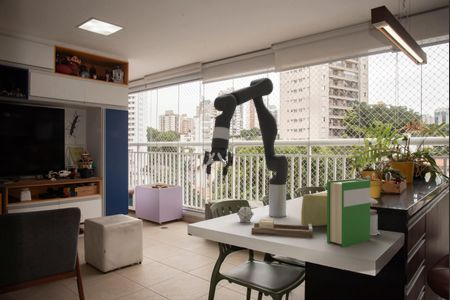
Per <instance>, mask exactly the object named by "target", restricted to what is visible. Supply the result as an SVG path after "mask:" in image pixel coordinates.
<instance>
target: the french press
mask: <svg viewBox="0 0 450 300" xmlns="http://www.w3.org/2000/svg"><path fill="white" fill-rule="evenodd" d="M365 179H371V176H370V175H365ZM378 203H379V201H378V200H376V199H375V198H373V197H370V205H373V204H378ZM377 212H378V211H377V210H376V209H372V208H370V236H378V235H377V234H379V235H381V233H380V232H379V230H378V225H379V223H378V222H379V221H378V219H379V218H378V213H377Z"/></svg>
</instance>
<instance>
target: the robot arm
mask: <svg viewBox="0 0 450 300" xmlns="http://www.w3.org/2000/svg"><path fill="white" fill-rule="evenodd" d="M273 90H274V84H273V81H272V79H270V78H269V77H261V78H256V79H253V80H251V81H250V82H249V86H245V87H243V88H239V89H236V90H233V91H232V92H229V93H225V94H224V93H223V94H221V95H218V96H217V97H215V98H214V100H213V107H214V109H215V110H216V111H217V112H221V113H220V114H218V115H216V117H215V119H214V127H213V131H212V137H211V145H210V146H211V150H210V151H208V150H205V151H204V155H203V162H202V164H203V165H205V166H206V167H205V173H206V175H209V176H210V175H211V172H212V165H214V163H215V162H220V163H221V164H222V166H223V167H222V176H224V177H226V176H227V175H228V173H229V167H233V163H234V152H232V151H228V149H229V143H230V142H229V141H230V135H231V133H230V131H231V121H232V119H233V117H234V114H235V112H236V110H237V109H236V108H237V107H239V106H241V105H243V104H245V103H247V102H249V101H253V105H254V108H255V111H256V116H257V120H258V127H259V131H260V134H261V139H262V144H263V151H264V159H265V161H264V162H265V165H266V169H267V170H268V171H270V172H275V176H273V177H271V178H269V181H268V216H270V217H274V218H275V217H276V218H284V217H286V216H287V180H288V170H289V169H288V168H289V160H288V158H287V156H286V155H284V154H276V152H275V142H276V140H277V139H276V138H277V137H278V132H279V130H278V125H277V120H276V117H275V115H273V113H272V112H271V111H270V110H269V109H268V107H267V106H266V104H265V102H264V98H263V97H266V96H270V95H271V94H272V92H273Z"/></svg>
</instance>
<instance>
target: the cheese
mask: <svg viewBox="0 0 450 300" xmlns="http://www.w3.org/2000/svg"><path fill="white" fill-rule="evenodd" d="M300 212H301V215H300V216H301V218H300V219H301V220H300V221H301V224H300V225H308V224H311V225H312V227H319V226H321V227H322V226H327V192H323V193H322V192H321V193H311V194H310V193H308V194H303V195H302V204H301V211H300Z"/></svg>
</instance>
